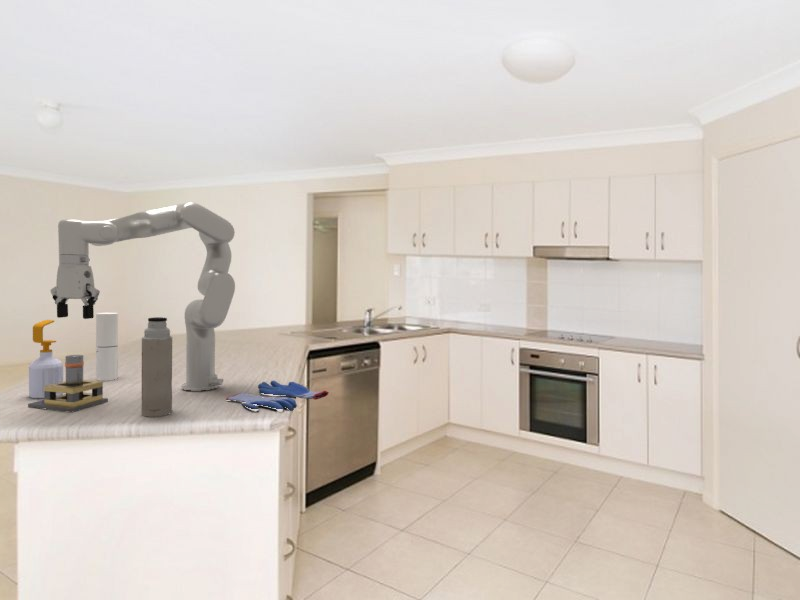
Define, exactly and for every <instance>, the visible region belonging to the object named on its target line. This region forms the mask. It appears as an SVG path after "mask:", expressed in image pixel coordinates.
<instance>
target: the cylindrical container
mask: <svg viewBox="0 0 800 600" xmlns="http://www.w3.org/2000/svg"><path fill="white" fill-rule="evenodd" d="M117 378H118V379H119V313H118V312H96V313H95V381H98V380H99V381H100V382H103V381H105V382H107V381H108V380H109V381H115V380H117ZM114 379H115V380H114ZM109 381H108V382H109Z"/></svg>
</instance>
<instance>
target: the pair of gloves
mask: <svg viewBox="0 0 800 600" xmlns="http://www.w3.org/2000/svg"><path fill="white" fill-rule="evenodd" d="M257 388H258V392H259V394H260V393H264V394H273V395H286V396H281V397H269V396H264V395H252V394H250V393H247V392H246V393H242V392H241V393H239V392H238V393H236V394H234V395H228V396H226V398H225V401H226V400H236V401H242V402H246V403H242V402H241V405H242V404H243V405H244V406H246V407H248V408H251V409H259V410H260V408H259V406H255V405H253V404H257V405H263V406H268V407H271V408H276V409H284V410H285V408H283V407H286V408H288V409H289V410H290V411H294V409H296V408H297V407H298V404H297V402H296V400H295V399H294V398H299V399H306V400H307V399H309V400H315V401H316V400H319V399H323V398H326V397H327V396H329V393H330V392H329V391H327V390H323V391H314V390H313V391H312V390H310V389H309V388H307V387H306V386H305V385H303V384H300V383H298V382H295V381H289V382H288V383H287V384H281V383H279V382H277V381H276V380H271V381H270V384H269V383H267V382H266V381H263V382H261V383H259V384H258V385H257ZM290 396H291V398H290ZM262 397H264V398H262ZM292 397H293V398H292ZM243 405H242V406H243ZM244 406H243V407H244ZM289 410H288V411H289Z"/></svg>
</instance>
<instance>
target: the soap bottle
mask: <svg viewBox="0 0 800 600" xmlns="http://www.w3.org/2000/svg"><path fill="white" fill-rule="evenodd" d="M53 323H55V320H54V319H45V320H41V321H39V322H37V323H34V324H33V326H32V342H34V343H37V344H40V346H42V349H40V350H39V357H38V358H36V359H35V360H33V361H32V362H31V363H30V364H29V366H28V395H29V397H30V398H32V399H37V398H39V399H45V398H44V386H46V385H51V384H56V383H60V382H64V363H63V362H62V361H61V360H60V359H58V358H56V357H54V356H53V349H50V346H52V344H53V343H57V340H52V339H47V340H46V339H45V340H44V338H43V337H44V327H45V326H48V325H50V324H53ZM60 395H64V393H59V392H56V396H60Z"/></svg>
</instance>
